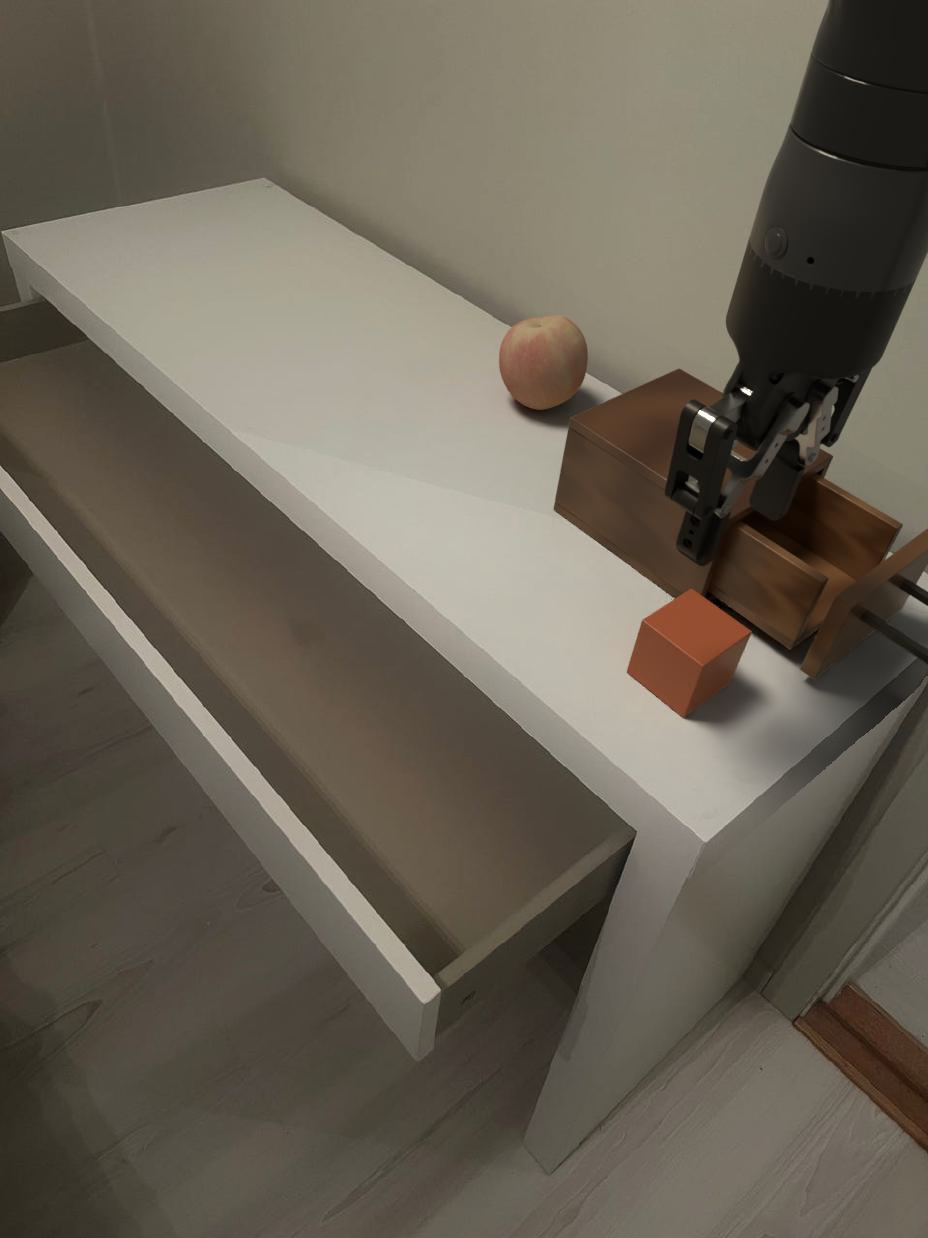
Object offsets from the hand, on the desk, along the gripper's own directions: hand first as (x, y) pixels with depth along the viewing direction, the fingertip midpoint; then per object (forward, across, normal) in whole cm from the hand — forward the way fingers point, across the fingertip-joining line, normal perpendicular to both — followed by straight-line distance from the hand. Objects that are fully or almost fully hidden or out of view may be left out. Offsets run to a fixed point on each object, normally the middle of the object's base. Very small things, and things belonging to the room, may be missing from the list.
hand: (731, 532), depth 53 cm
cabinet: (+13, +12, +11) cm, 20 cm away
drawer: (+12, +12, -3) cm, 17 cm away
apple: (+13, +16, +30) cm, 36 cm away
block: (+13, 0, 0) cm, 13 cm away
